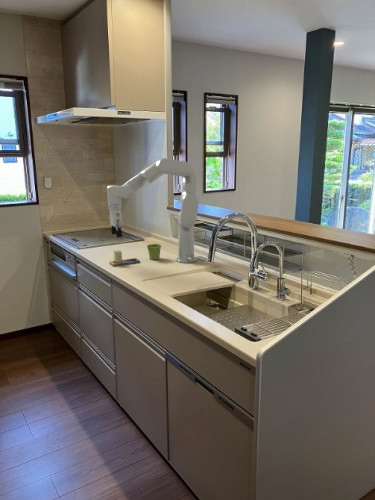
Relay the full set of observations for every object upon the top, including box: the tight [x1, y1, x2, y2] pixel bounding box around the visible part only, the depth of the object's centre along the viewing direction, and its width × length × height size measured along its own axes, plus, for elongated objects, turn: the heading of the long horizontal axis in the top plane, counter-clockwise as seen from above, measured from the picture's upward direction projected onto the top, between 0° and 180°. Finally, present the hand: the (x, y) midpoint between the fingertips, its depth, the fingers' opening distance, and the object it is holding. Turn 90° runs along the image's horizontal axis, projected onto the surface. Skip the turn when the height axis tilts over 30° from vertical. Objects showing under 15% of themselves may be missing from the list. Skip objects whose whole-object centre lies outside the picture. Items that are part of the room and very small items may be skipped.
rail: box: [109, 257, 141, 267], centre depth 245 cm, size 17×7×1 cm, turn 117°
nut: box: [112, 250, 123, 264], centre depth 243 cm, size 4×4×8 cm
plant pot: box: [146, 243, 162, 261], centre depth 253 cm, size 9×9×9 cm
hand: (116, 235), depth 239 cm, fingers open, 9 cm apart
